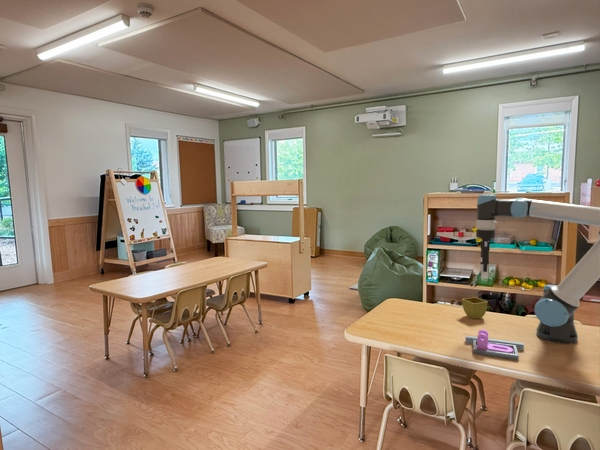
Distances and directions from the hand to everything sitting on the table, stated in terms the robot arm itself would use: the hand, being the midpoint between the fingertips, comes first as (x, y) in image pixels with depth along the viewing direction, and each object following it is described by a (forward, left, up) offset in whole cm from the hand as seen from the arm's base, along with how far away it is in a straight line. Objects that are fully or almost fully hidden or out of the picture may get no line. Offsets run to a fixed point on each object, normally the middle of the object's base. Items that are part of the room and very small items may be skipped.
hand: (483, 275), depth 174 cm
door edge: (-4, +15, -27) cm, 31 cm away
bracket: (-4, +22, -26) cm, 34 cm away
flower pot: (+3, -18, -27) cm, 33 cm away
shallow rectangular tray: (-4, +22, -27) cm, 35 cm away
